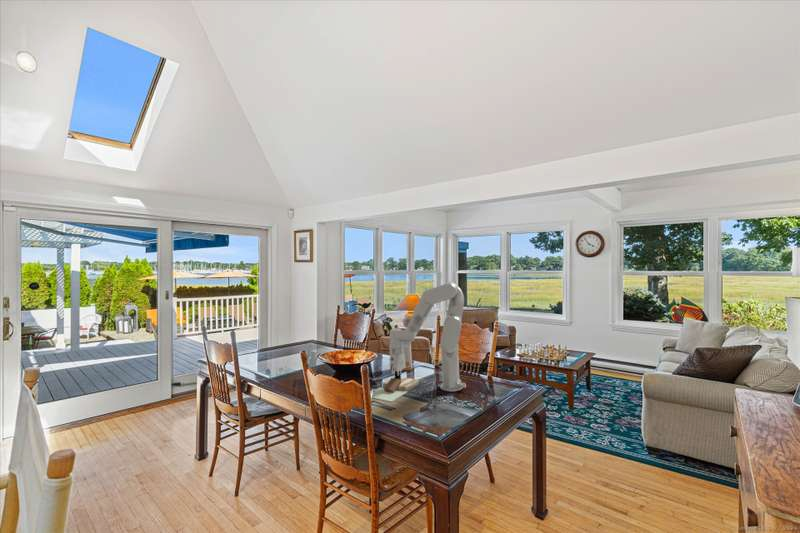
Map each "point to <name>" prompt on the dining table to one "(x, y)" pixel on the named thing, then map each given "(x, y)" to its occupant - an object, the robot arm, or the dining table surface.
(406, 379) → the deck
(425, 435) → the dining table surface
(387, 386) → the tile
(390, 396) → the mat
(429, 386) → the dining table surface
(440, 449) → the dining table surface
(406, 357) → the cracker box
